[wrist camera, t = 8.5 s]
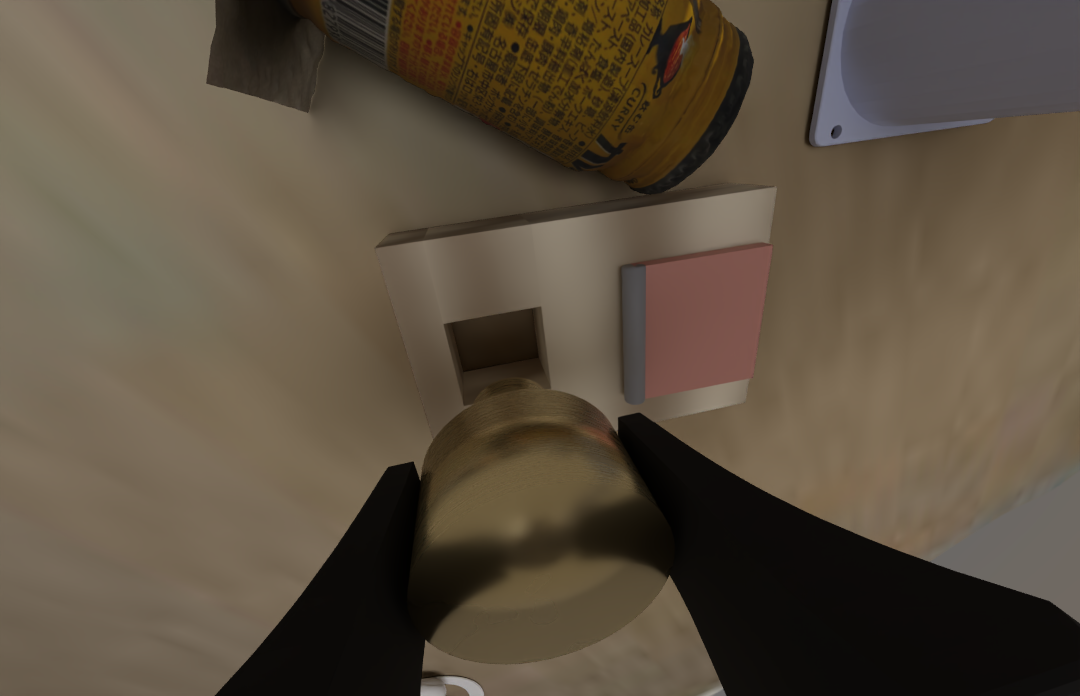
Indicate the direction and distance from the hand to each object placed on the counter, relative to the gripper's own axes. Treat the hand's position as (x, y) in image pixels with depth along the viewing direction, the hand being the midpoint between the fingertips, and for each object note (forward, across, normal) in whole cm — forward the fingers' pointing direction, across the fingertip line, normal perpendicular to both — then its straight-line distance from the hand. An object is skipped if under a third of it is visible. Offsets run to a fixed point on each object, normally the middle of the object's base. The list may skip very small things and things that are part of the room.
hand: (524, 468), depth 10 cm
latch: (+6, -8, 0) cm, 10 cm away
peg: (+3, 0, 0) cm, 3 cm away
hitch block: (+9, -4, 0) cm, 10 cm away
